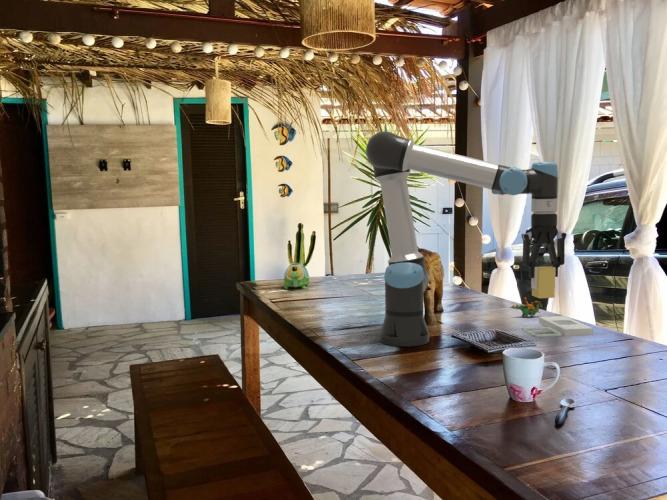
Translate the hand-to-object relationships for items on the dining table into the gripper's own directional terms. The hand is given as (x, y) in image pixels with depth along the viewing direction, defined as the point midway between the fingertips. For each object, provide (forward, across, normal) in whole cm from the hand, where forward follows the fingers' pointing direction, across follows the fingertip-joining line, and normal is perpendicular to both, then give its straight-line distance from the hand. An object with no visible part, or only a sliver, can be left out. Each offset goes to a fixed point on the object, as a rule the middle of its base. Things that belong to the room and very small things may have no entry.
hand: (543, 287), depth 180 cm
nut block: (+3, 0, 0) cm, 3 cm away
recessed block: (+15, +9, +4) cm, 18 cm away
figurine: (+15, +4, +22) cm, 27 cm away
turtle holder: (+15, -74, +105) cm, 129 cm away
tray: (+15, 0, 0) cm, 15 cm away
